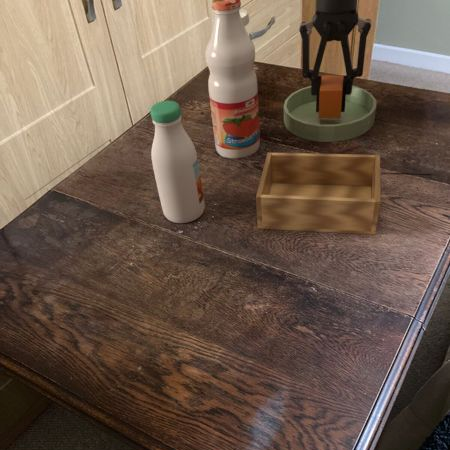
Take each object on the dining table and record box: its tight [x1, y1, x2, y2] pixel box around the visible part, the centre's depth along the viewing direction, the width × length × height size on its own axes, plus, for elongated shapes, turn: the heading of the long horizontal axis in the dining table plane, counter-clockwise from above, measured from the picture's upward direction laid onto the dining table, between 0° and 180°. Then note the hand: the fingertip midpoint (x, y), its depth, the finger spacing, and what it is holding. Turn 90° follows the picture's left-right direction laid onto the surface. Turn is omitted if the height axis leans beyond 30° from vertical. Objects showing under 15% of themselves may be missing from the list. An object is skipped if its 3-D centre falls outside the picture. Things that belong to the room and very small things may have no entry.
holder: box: [255, 151, 382, 236], centre depth 85 cm, size 20×14×7 cm
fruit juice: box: [204, 0, 261, 159], centre depth 93 cm, size 9×9×28 cm
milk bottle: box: [150, 100, 206, 224], centre depth 83 cm, size 8×8×20 cm
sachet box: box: [319, 75, 345, 119], centre depth 104 cm, size 4×7×6 cm, turn 169°
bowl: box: [283, 85, 377, 143], centre depth 106 cm, size 19×19×4 cm
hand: (330, 108), depth 106 cm, fingers closed on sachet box, 4 cm apart
